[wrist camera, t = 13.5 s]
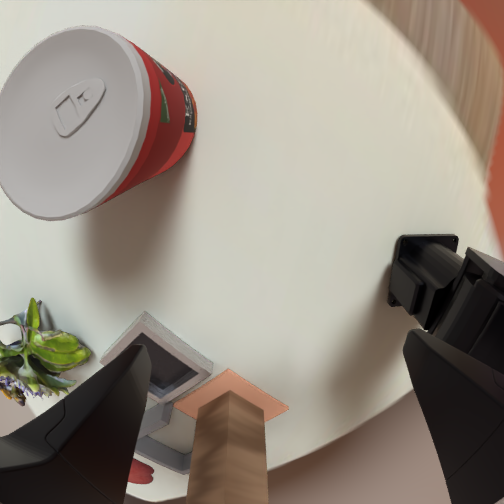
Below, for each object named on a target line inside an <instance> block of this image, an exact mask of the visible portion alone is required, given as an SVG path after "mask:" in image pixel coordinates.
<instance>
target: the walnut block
mask: <svg viewBox="0 0 504 504" xmlns="http://www.w3.org/2000/svg"><path fill="white" fill-rule="evenodd" d="M186 504H269V502H268V483H267V463H266V444H265V425H264V410H263V409H261V408H259V407H258V406H256V405H254V404H252V403H251V402H249V401H247V400H246V399H244V398H242V397H241V396H239V395H237V394H236V393H234V392H233V391H231V390H229V391H227V392H226V393H224V394H222V395H221V396H219V397H217V398H215V399H214V400H212V401H210V402H208V403H207V404H205V405H203V406H201V407H199V408H198V415H197V422H196V429H195V436H194V443H193V451H192V458H191V466H190V474H189V482H188V490H187V498H186Z"/></svg>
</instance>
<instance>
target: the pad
mask: <svg viewBox="0 0 504 504" xmlns="http://www.w3.org/2000/svg"><path fill="white" fill-rule="evenodd" d="M229 390H231V391H233V392H234V393H236V394H237V395H239V396H241V397H242V398H244V399H246V400H247V401H249V402H251V403H252V404H254V405H256V406H258V407H259V408H261V409H263V410H264V422H266V421H268V420H270V419H272V418H274V417H276V416H278V415H280V414H281V413H283V412H285V411H287V410H289V407H288V406H286V405H285V404H283V403H281V402H280V401H278V400H276V399H275V398H273V397H271V396H270V395H268V394H267V393H265V392H263V391H262V390H260V389H259V388H257V387H255V386H254V385H252V384H251V383H249V382H248V381H246V380H245V379H243V378H242V377H240V376H239V375H237V374H236V373H234V372H233V371H231V370H230V369H227V370H225V371H224V372H222V373H221V374H219V375H218V376H216V377H215V378H213V379H212V380H210V381H209V382H207V383H206V384H204V385H202V386H201V387H199V388H198V389H196V390H195V391H193V392H191V393H190V394H188V395H187V396H185V397H183V398H182V399H180V400H178V401H177V402H175V403H173V407H175V408H177V409H178V410H180V411H182V412H184V413H185V414H187V415H189V416H191V417H192V418H194V419H196V420H197V415H198V408H199V407H201V406H203V405H205V404H207V403H208V402H210V401H212V400H214V399H215V398H217V397H219V396H221V395H222V394H224V393H226V392H227V391H229Z"/></svg>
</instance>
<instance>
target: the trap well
mask: <svg viewBox="0 0 504 504" xmlns="http://www.w3.org/2000/svg"><path fill="white" fill-rule="evenodd" d="M133 344H143V345H145V346H146V348H147V352H148V355H149V358H150V361H151V375H150V381H149V388H148V395H147V396H148V397H150V398H151V399H153V400H154V401H156V402H158V403H159V404H161V405H164V404H166V403H167V402H169V401H171V400H172V399H174V398H175V397H177V396H179V395H180V394H182V393H183V392H185V391H186V390H188V389H190V388H191V387H193V386H194V385H196V384H197V383H199V382H200V381H202V380H203V379H205V378H207V377H208V376H210V375H211V374H212V367H213V363H212V362H211V361H210V360H208V359H207V358H205V357H204V356H203V355H201V354H200V353H198V352H197V351H196V350H194V349H193V348H192V347H190V346H189V345H187V344H186V343H185V342H183V341H182V340H181V339H179V338H178V337H177V336H176V335H174V334H173V333H172V332H170V331H169V330H168V329H166V328H165V327H164V326H163V325H161V324H160V323H159V322H158V321H156V320H155V319H154V318H153V317H151V316H150V315H149V314H148V313H147V312H145V311H144V312H143V313H142V314H141V315H140V316H139V317H138V318H137V319H136V320H135V322H134V323H133V324H132V325H131V326H130V327H129V328H128V329H127V330H126V331H125V332H124V333H123V334H122V335H121V336H120V337H119V338H118V339H117V340H116V341H115V342H114V343H113V344H112V345H111V346H110V347H109V348H108V350H107V351H106V352H105V353H104V355H103V356H102V358H101V360H100V363H101V364H102V365H104V366H106V365H107V364H108V363H109V362H111V361H112V360H113V359H115V358H116V357H117V356H118V355H120V354H121V353H122V352H124V351H125V350H126V349H127V348H129V347H130V346H131V345H133Z"/></svg>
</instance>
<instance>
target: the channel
mask: <svg viewBox="0 0 504 504" xmlns="http://www.w3.org/2000/svg"><path fill="white" fill-rule="evenodd" d="M172 407H173V403H172V402H170V401H169V402H167V403H166V404H164V405H161V404H157V405H156V406H154V407H152V408H151V409H149V410H148V411H146V412H144V415H143V419H142V423H141V427H140V431H139V435H138V439H137V443H136V447H135V453H137V454H139V455H141V456H143V457H145V458H147V459H149V460H151V461H153V462H155V463H158V464H160V465H162V466H164V467H166V468H169V469H171V470H173V471H176V472H178V473H180V474H183V475H185V474H188V473H190V466H191V458H192V452H191V453H188V454H185V455H184V454H182V453H179V452H177V451H175V450H173V449H171V448H169V447H167V446H165V445H163V444H161V443H159V442H157V441H155V440H154V439H152V438H150V437H148V436H146V435H148V434H150V433H152V432H154V431H156V430H158V429H160V428H162V427H164V426H166V425H168V424H169V420H170V416H171V411H172Z"/></svg>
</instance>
